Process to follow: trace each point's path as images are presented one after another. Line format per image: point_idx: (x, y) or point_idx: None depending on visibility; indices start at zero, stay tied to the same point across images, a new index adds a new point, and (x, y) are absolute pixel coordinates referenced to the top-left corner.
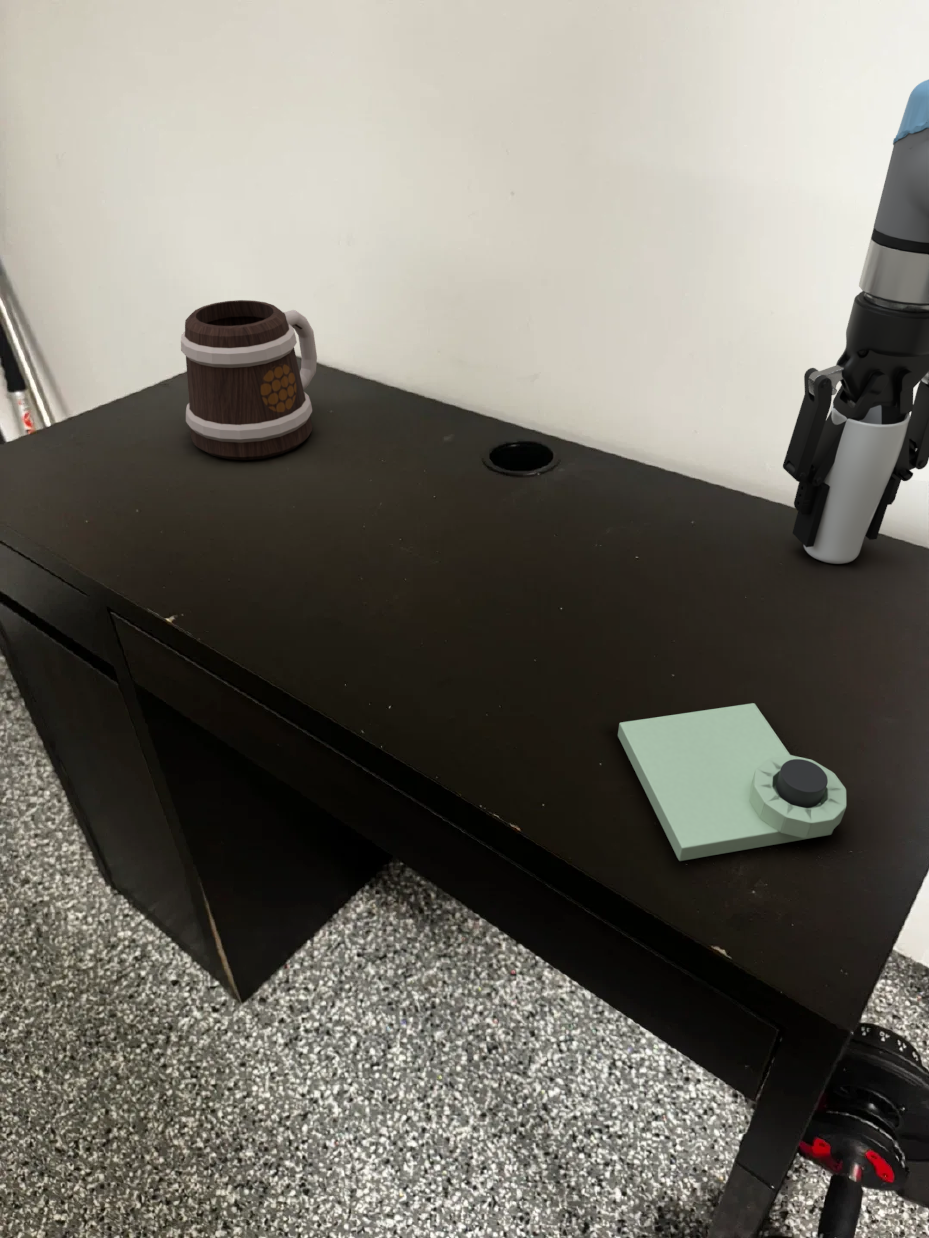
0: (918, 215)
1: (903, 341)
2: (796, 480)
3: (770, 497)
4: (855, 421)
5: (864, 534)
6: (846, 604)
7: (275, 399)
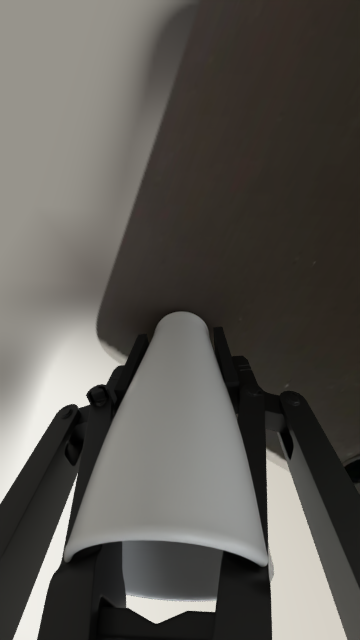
0: None
1: None
2: (298, 393)
3: None
4: (253, 557)
5: (159, 330)
6: (207, 239)
7: None
